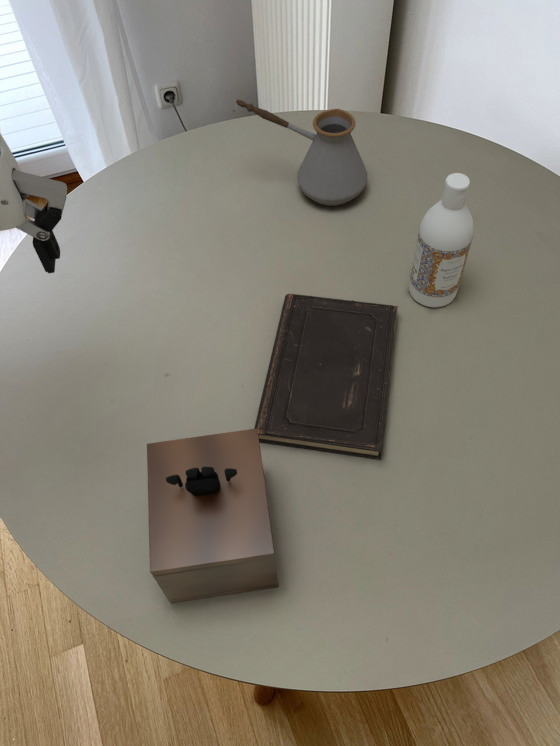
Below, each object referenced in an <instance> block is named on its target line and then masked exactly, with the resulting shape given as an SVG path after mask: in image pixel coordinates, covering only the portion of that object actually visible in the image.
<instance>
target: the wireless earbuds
mask: <svg viewBox="0 0 560 746" xmlns="http://www.w3.org/2000/svg"><path fill="white" fill-rule="evenodd" d="M201 471H202V472H200V470H199V469H198V468H192V469H188V470H186V472H185V473H186V475H187V478H186V483H185V488H186V490H187V491H188V492H189V493H191V494H192V495H194V496H201V495H209V494H216V493H217V492H218V491H219V490H220V481H219V478H218V474H217V473H216V472H215V471H214V468H213V467H202V468H201ZM224 472H225V476H226V480H227V481H228V482H229V481H230V480H231V479H230V478H232V477H234V476H235V475H236V474H237V469H232V468H227V469H225V471H224ZM166 482H167V483H169V484H172V485H176V484H177V483H178V485H179V487H182V486H183V483H182V481H181V478H180V476H179V475H172V476H169V477H167V478H166Z"/></svg>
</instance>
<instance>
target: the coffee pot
mask: <svg viewBox="0 0 560 746" xmlns="http://www.w3.org/2000/svg"><path fill="white" fill-rule="evenodd" d="M238 106H239V107H240V108H244V109H246V110H247V112H249V113H250V112H252V113H254V114H255V115H257V116H259V118H261V119H263V120H265V121H268V122H270V123H273V124H276V125H278V126H280V127H282V128H286V129H289V130H291V131H292V132H295V133H297V134H299V135H300V136H303V137H305V138H307V139H309V140H311V141H312V142H311V144H310V145H309V148H308V150H307V152H306V154H305V155H304V158H303V160H302V162H301V163H300V166H299V168H298V170H297V175H296V180H297V184H298V186H299V188H300V190H301V191H302V192H303V194H304V195H305V196H306V197H308V198H309V199H311V200H312V201H314V202H316V203H318V204H320V205H324V206H331V207H332V206H333V207H334V206H335V207H336V206H341V205H344V204H346V203H348V202H350V201H352V200H353V199H354V198H357V197H358V196H359V195H360V194H361V193H362V192H363V190H364V189H365V187H366V185H367V183H368V175H369V174H368V171H367V169H366V166H365V164H364V161H363V159H362V157H361V155H360V152H359V150H358V147H357V145H356V143H355V141H354V138H353V136H352V132H353V131H354V129H355V128H356V119H355V117H354V116H353V115H352V114H350V112H347V111H345V110H343V109H341V108H333V109H332V108H331V109H327V110H324V111H321V112H319V113H318V114H316V115H315V116H314V118H313V120H312V127H313V130H315V132H316V134H315V133H312V131H311V132H310V131H308V130H307V129H304V128H302V127H299V126H296V125H294V124H293V123H290V122H288V121H287V120H285V119H284V118H282V117H279V116H277V115H276V114H274V113H272V112H270V111H268V110H266V109H263V108H259V107H256V106H254V104H253V103H247V102H245V101H244V100H241V99H236V101H235V105H234V108H233V111H232V112H233V113H235V111H236V110H237V107H238Z"/></svg>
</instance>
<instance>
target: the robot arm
mask: <svg viewBox="0 0 560 746" xmlns="http://www.w3.org/2000/svg"><path fill="white" fill-rule="evenodd" d="M67 194H68V186H67V183H65V182H63V181H61V180H60V181H59V180H56V179H51V178H47V177H44V176H40V175H36V174H32V173H28V172H25V171H23V170H22V169H21V167H20V165H19V163H18V161H17V159H16V157H15V155H14V154H13V152H12V151H11V148H10V147H9V145H8V143H7V142H6V140H5V139H4V137H3V135H2V134H1V133H0V232H2V231H9V230H13V229H15V228H16V229H17V230H19V231H21V232H23V233H25V234H27V235H28V236H31V237H32V247H33V249H34V251H35V253H36V255H37V257H38V259H39V261H40V263H41V266H42V267H43V270H44V272H45V273H48V274H55V271H56V260H59V259H60V258H61V248H60V245H59V242H58V239H57V238H56V236H55V233H54V229H55V228H56V226H57V225H58V224H59V222H60V221H61V220H62V217H63V212H64V209H65V205H66V200H67V196H68V195H67ZM30 196H32V197H37V198H40V199H45V200H46V201H47V203H45V205H44V206H43V207H42V206H40V205H39V204H37V203H35V202H33V201H31V200H30V199H28V198H26V197H30Z"/></svg>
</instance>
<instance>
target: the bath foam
mask: <svg viewBox="0 0 560 746" xmlns="http://www.w3.org/2000/svg"><path fill="white" fill-rule="evenodd" d="M470 185H471V180H470V178H469V177H468V176H467V175H466V174H464V173H462V172H461V173H460V172H454V173H450V174H449V175H447V176H446V177H445V181H444V186H443V190H442V194H441V199H440V200H439V201H437V202H436V203H435V204H434V205H432V206H431V207H430V208H429V209H428V210H427V211H426V213H425V214H424V216H423V217H422V220H421V223H420V225H419V228H418V233H417V238H416V244H415V250H414V255H413V260H412V265H411V270H410V277H409V282H408V291H409V294H410V296H411V297H412V299H413V300H414V301H415V302H417V303H418V304H420V305H422V306H424V307H428V308H442V307H444V306H447V305H450V303H452V302H453V301H454V300H455V298H456V296H457V294H458V291H459V287H460V284H461V280H462V277H463V273H464V269H465V266H466V263H467V259H468V255H469V252H470V249H471V245H472V242H473V237H474V220H473V216H472V214H471V211H470V210H469V208H468V206H467V205H466V201H467V197H468V193H469V189H470Z"/></svg>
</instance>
